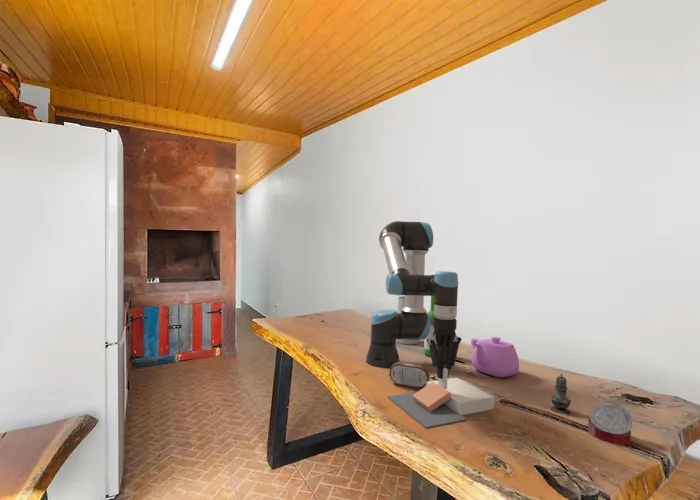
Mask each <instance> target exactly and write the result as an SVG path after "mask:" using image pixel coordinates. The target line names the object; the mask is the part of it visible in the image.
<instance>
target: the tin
mask: <svg viewBox="0 0 700 500" xmlns="http://www.w3.org/2000/svg"><path fill="white" fill-rule="evenodd" d="M389 378H390V379H391V380H392V382H393V383H394V384H396V385H399V386H405V387H409V388H414V389H415V388H416V389H423V388H424V387H426V382H430V378H431V377H430V372H429V369H428V368H427V367H426V366H424V365H422V364H419V363H418V364H417V363H412V362H411V363H410V362H407V361H405V362H404V361H399V362H396V363H394V364H393V365H392V366H391V367H390V370H389Z"/></svg>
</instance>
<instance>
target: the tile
mask: <svg viewBox="0 0 700 500" xmlns="http://www.w3.org/2000/svg"><path fill="white" fill-rule="evenodd" d="M416 392H417V393H415V394H414V395H412V397H413V400H414V401H415V402H416V403H418V404H419V405H421V406H422V407H423V408H425V409H426V410H427V411H429V412H431V411H433V410H434V409H436V408H437V407H439V406H440V405H441V404H443V403H444V402H446V401H447V400H448V399H450V398H451V394H450V392H449V391H447V390H445V389H444V388H442V387H440V386H439V385H437V384H435V383H433V382H432V383H430V384H429V385H427V386H425V387H423V388H420V390H418V391H416Z"/></svg>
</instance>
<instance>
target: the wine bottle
mask: <svg viewBox="0 0 700 500" xmlns="http://www.w3.org/2000/svg"><path fill="white" fill-rule="evenodd" d="M429 308H430V310H429V311H428V312H427V314H428V315H429V316H430V319H431V320H430V321H431V327H430V332H429V335H428V336H427V338H426V339H423V341H424V344H423V345H424V347H423V352H424V355H425V356H427V357H430V358H431V353H430V347H429V344H428V342H427V339H428V338H429V339H430V338H431V337H433V333H434V327H433V322H434V317H435V316H434V296H430V307H429ZM436 343H437V342H436Z"/></svg>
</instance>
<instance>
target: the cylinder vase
mask: <svg viewBox="0 0 700 500" xmlns="http://www.w3.org/2000/svg"><path fill="white" fill-rule="evenodd" d="M404 306H405V295H400V296H397V314H401V309H402V308H403V307H404ZM396 342H398V343H399V344H401V345H402V344H403V345H408V344H413V345H417V344H419V342H420V340H406V339H396Z"/></svg>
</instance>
